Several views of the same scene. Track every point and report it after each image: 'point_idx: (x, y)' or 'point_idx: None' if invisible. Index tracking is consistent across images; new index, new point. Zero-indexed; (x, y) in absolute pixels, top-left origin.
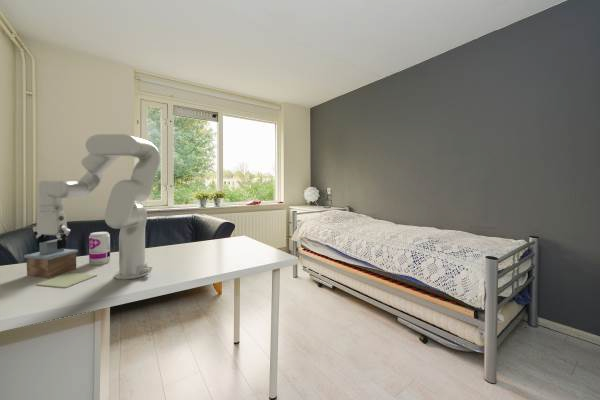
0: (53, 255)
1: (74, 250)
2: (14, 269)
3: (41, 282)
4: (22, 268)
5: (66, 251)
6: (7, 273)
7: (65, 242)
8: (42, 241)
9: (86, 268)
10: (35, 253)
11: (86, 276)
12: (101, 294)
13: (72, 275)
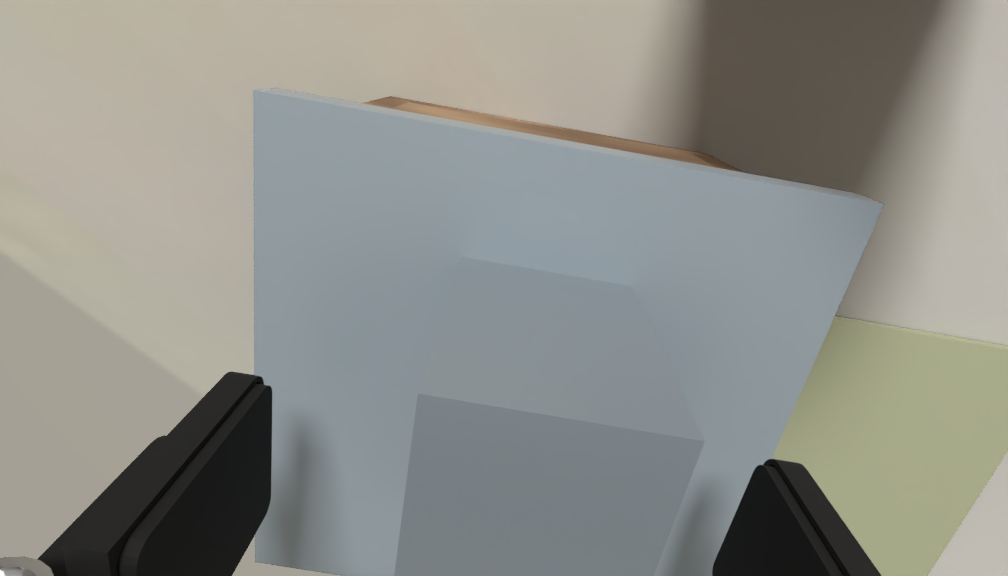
0: (684, 560)
1: (836, 260)
2: (4, 184)
3: None
4: (43, 145)
5: (721, 339)
6: (99, 307)
7: (867, 570)
8: (208, 552)
9: (812, 106)
10: (309, 478)
11: (973, 400)
12: None
13: (814, 378)
